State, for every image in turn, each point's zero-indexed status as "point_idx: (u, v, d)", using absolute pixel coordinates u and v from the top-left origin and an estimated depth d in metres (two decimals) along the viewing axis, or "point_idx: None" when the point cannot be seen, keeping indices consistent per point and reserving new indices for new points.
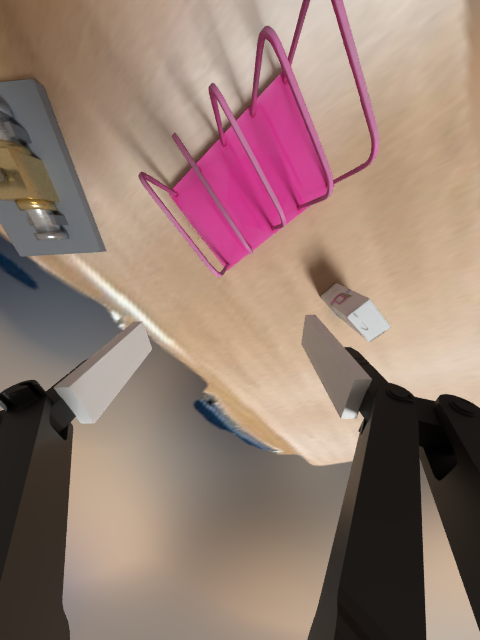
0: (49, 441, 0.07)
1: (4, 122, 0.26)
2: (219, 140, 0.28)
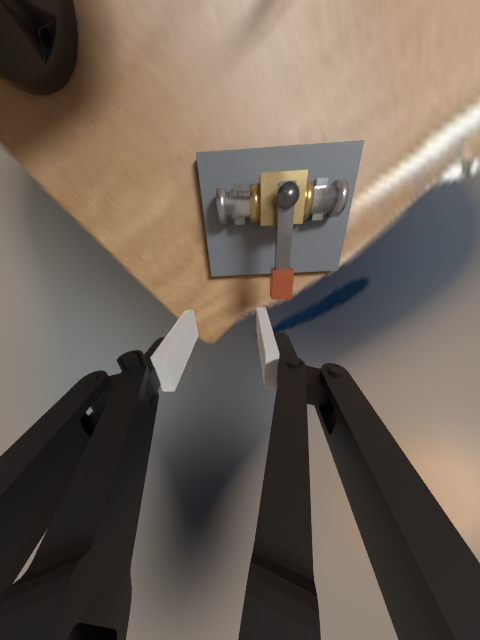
0: (143, 408, 0.08)
1: (233, 190, 0.25)
2: None
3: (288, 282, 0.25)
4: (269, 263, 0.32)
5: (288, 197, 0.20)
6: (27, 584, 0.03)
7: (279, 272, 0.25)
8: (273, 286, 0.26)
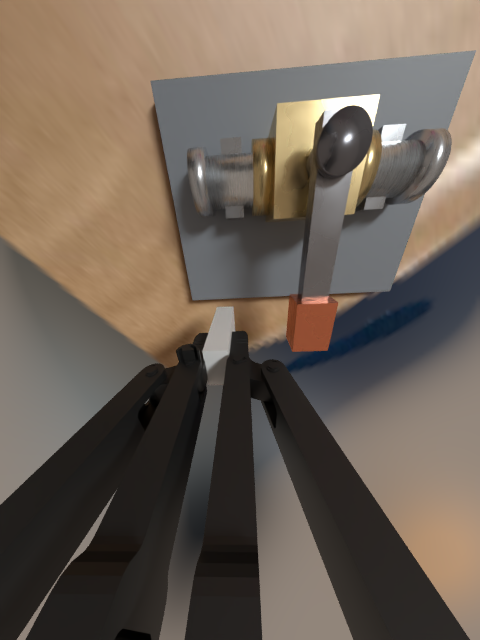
0: (193, 403, 0.08)
1: (221, 152, 0.13)
2: None
3: (324, 325, 0.14)
4: (282, 280, 0.20)
5: (344, 149, 0.09)
6: (87, 566, 0.03)
7: (309, 307, 0.13)
8: (296, 331, 0.14)
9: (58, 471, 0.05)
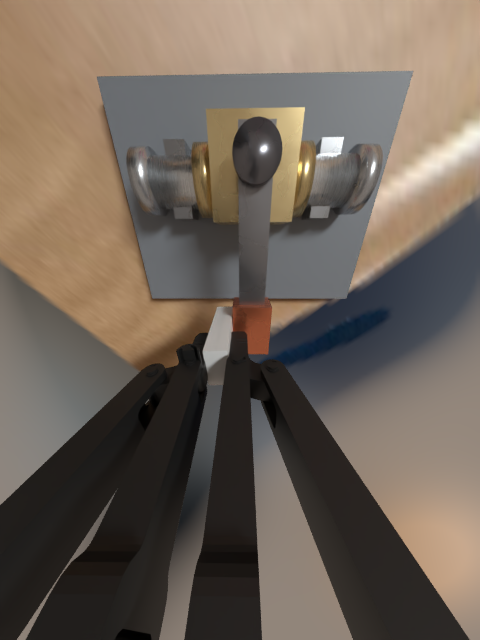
0: (194, 403, 0.08)
1: (165, 153, 0.13)
2: None
3: (261, 329, 0.14)
4: None
5: (257, 158, 0.09)
6: (88, 566, 0.03)
7: (244, 311, 0.13)
8: None
9: (58, 471, 0.05)
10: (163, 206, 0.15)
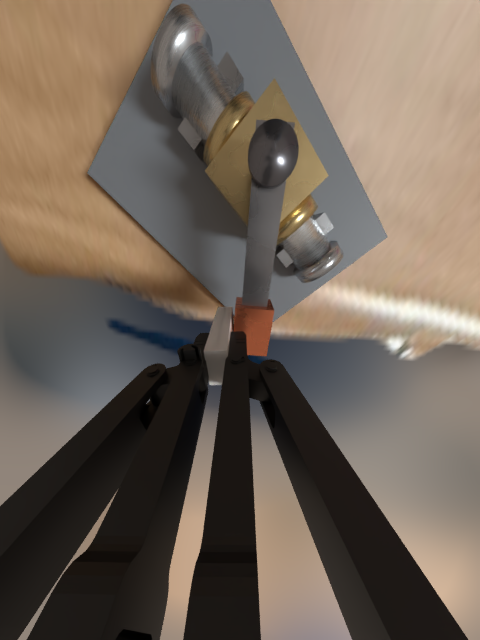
0: (195, 403, 0.08)
1: (219, 65, 0.11)
2: None
3: (262, 331, 0.14)
4: (192, 251, 0.19)
5: (272, 160, 0.09)
6: (88, 566, 0.03)
7: (247, 312, 0.13)
8: None
9: (59, 471, 0.05)
10: (175, 103, 0.12)
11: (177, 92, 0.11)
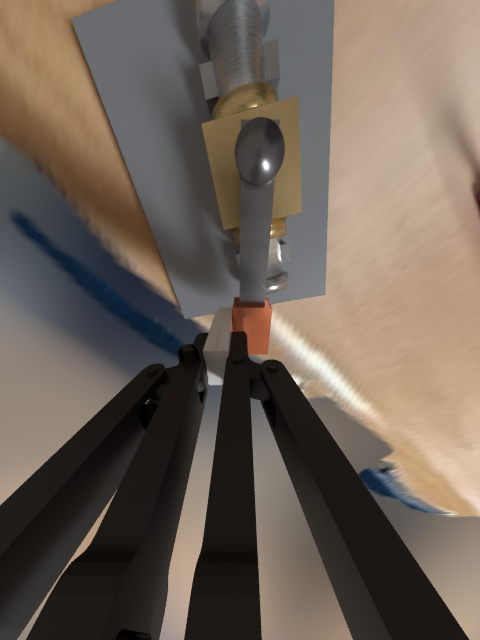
0: (194, 403, 0.08)
1: (265, 44, 0.11)
2: None
3: (261, 329, 0.14)
4: (159, 200, 0.17)
5: (259, 158, 0.09)
6: (88, 566, 0.03)
7: (244, 311, 0.13)
8: None
9: (58, 471, 0.05)
10: (208, 39, 0.11)
11: (214, 28, 0.10)
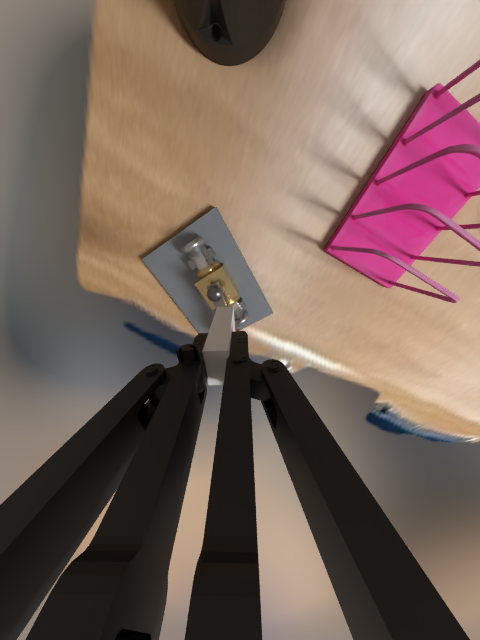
0: (193, 403, 0.08)
1: (206, 250, 0.32)
2: (373, 182, 0.29)
3: None
4: (183, 300, 0.38)
5: (215, 296, 0.29)
6: (87, 566, 0.03)
7: None
8: None
9: (58, 471, 0.05)
10: (188, 255, 0.32)
11: (189, 255, 0.31)
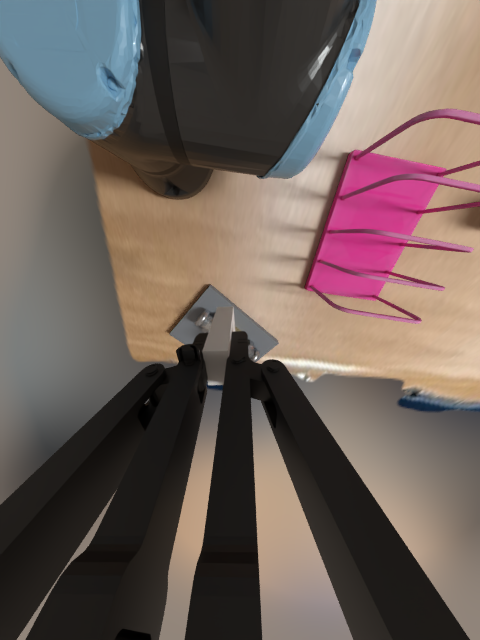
0: (193, 403, 0.08)
1: (212, 318, 0.41)
2: (326, 233, 0.35)
3: None
4: None
5: None
6: (87, 566, 0.03)
7: None
8: None
9: (58, 471, 0.05)
10: (200, 325, 0.42)
11: (201, 326, 0.42)
